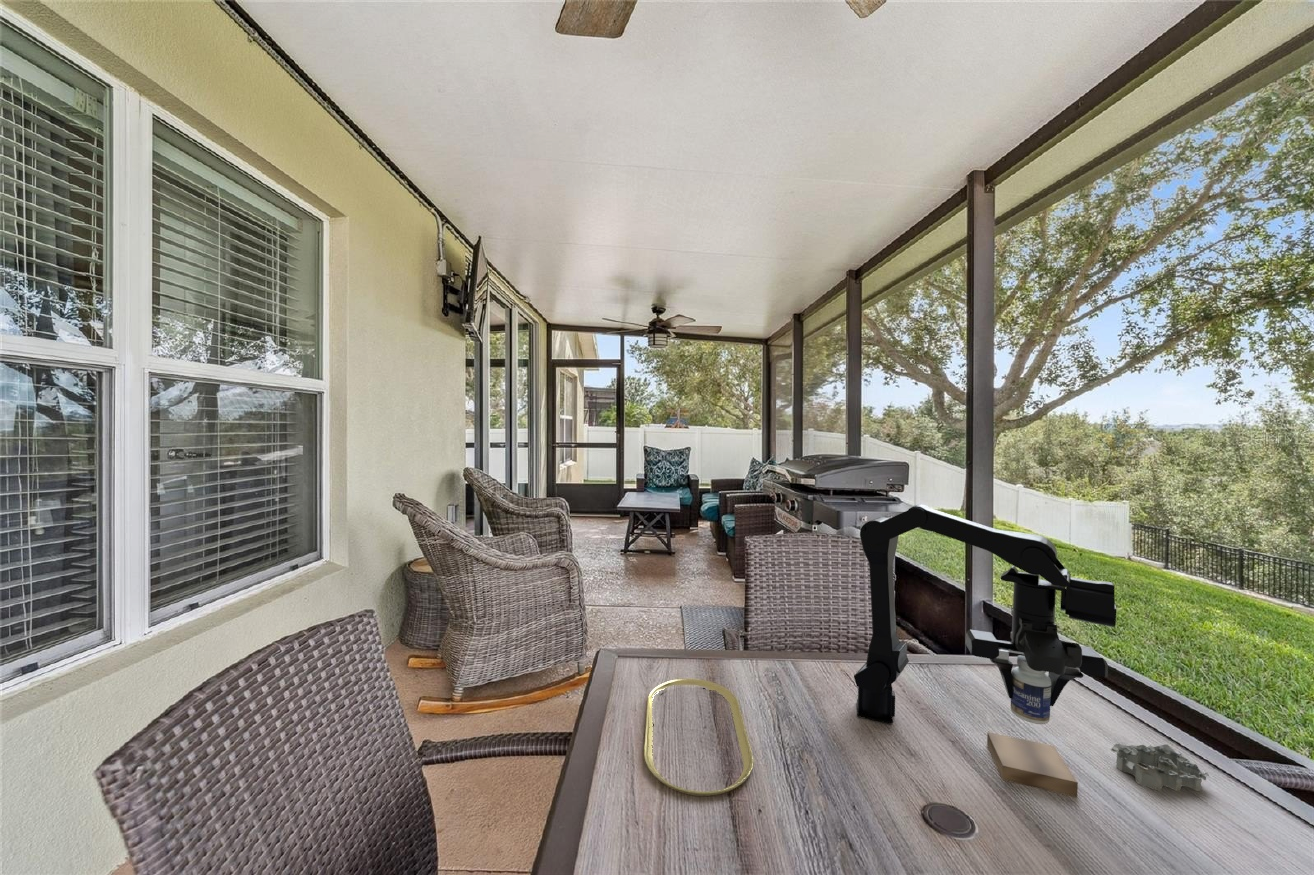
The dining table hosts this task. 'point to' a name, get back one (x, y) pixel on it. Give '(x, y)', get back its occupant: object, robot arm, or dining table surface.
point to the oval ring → (739, 728)
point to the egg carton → (1168, 773)
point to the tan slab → (1031, 764)
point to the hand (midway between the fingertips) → (1030, 701)
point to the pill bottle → (1030, 693)
